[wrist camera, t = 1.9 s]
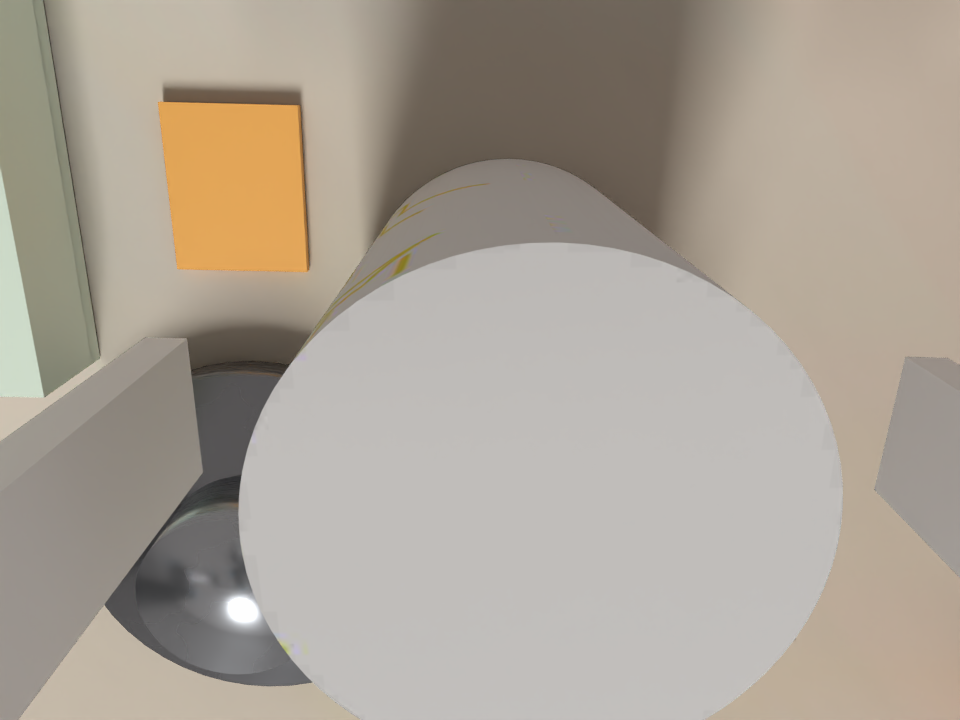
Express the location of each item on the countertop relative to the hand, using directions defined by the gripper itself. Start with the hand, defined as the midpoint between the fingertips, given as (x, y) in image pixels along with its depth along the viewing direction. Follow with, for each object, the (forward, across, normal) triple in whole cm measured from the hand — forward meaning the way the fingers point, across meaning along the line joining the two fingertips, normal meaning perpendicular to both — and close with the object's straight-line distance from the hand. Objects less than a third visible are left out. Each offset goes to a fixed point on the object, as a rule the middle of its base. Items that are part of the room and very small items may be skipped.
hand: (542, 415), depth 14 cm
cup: (+8, 0, 0) cm, 8 cm away
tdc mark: (+8, -8, +3) cm, 12 cm away
